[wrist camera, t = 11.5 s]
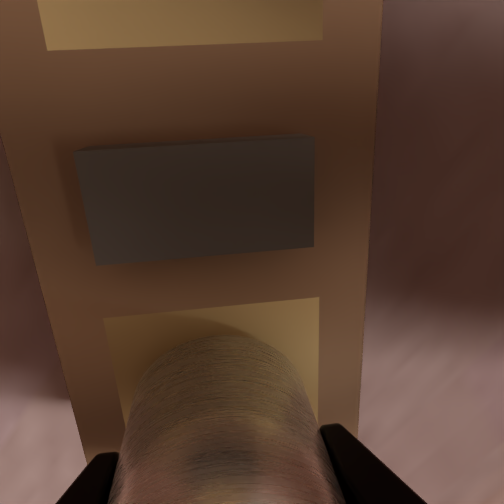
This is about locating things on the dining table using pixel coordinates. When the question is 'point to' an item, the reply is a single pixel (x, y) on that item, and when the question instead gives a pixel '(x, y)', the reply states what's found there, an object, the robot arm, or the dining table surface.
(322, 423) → the cradle
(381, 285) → the dining table surface
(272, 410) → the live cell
